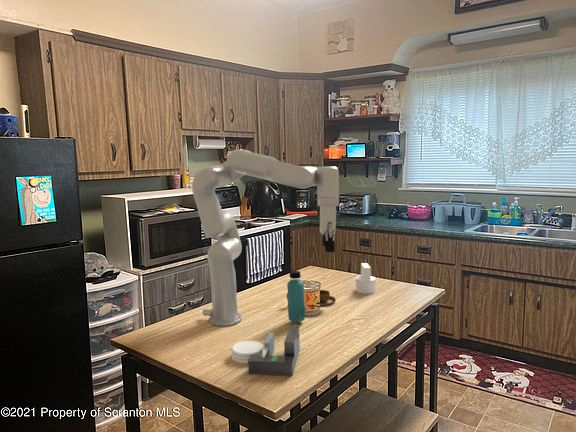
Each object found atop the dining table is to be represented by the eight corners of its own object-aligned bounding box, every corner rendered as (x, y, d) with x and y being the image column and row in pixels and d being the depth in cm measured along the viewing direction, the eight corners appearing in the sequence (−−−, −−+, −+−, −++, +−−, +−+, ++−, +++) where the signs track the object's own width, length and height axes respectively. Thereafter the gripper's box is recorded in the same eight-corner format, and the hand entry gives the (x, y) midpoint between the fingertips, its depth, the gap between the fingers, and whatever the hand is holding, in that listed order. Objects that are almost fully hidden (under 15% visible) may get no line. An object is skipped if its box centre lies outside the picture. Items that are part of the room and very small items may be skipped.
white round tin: (233, 366, 133) (232, 355, 132) (230, 352, 142) (230, 341, 142) (265, 362, 135) (265, 351, 134) (260, 348, 144) (260, 338, 144)
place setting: (333, 311, 177) (333, 297, 177) (285, 309, 181) (285, 295, 180) (337, 297, 194) (337, 284, 194) (293, 295, 198) (293, 283, 198)
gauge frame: (248, 373, 127) (247, 347, 126) (260, 348, 144) (259, 325, 143) (292, 375, 125) (291, 349, 124) (299, 349, 142) (299, 326, 141)
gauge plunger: (261, 369, 128) (260, 351, 127) (269, 349, 141) (269, 332, 140) (266, 369, 128) (265, 351, 127) (274, 349, 141) (273, 332, 140)
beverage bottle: (303, 326, 161) (302, 274, 158) (286, 325, 162) (284, 273, 160) (306, 319, 167) (305, 269, 165) (289, 319, 169) (288, 269, 166)
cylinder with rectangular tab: (377, 293, 196) (377, 267, 195) (357, 293, 197) (357, 268, 195) (373, 287, 205) (373, 262, 204) (354, 287, 205) (354, 263, 204)
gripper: (315, 199, 162) (316, 244, 164) (319, 204, 145) (320, 254, 147) (335, 198, 162) (336, 243, 164) (341, 204, 145) (342, 254, 147)
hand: (328, 248), depth 156 cm, fingers open, 9 cm apart
